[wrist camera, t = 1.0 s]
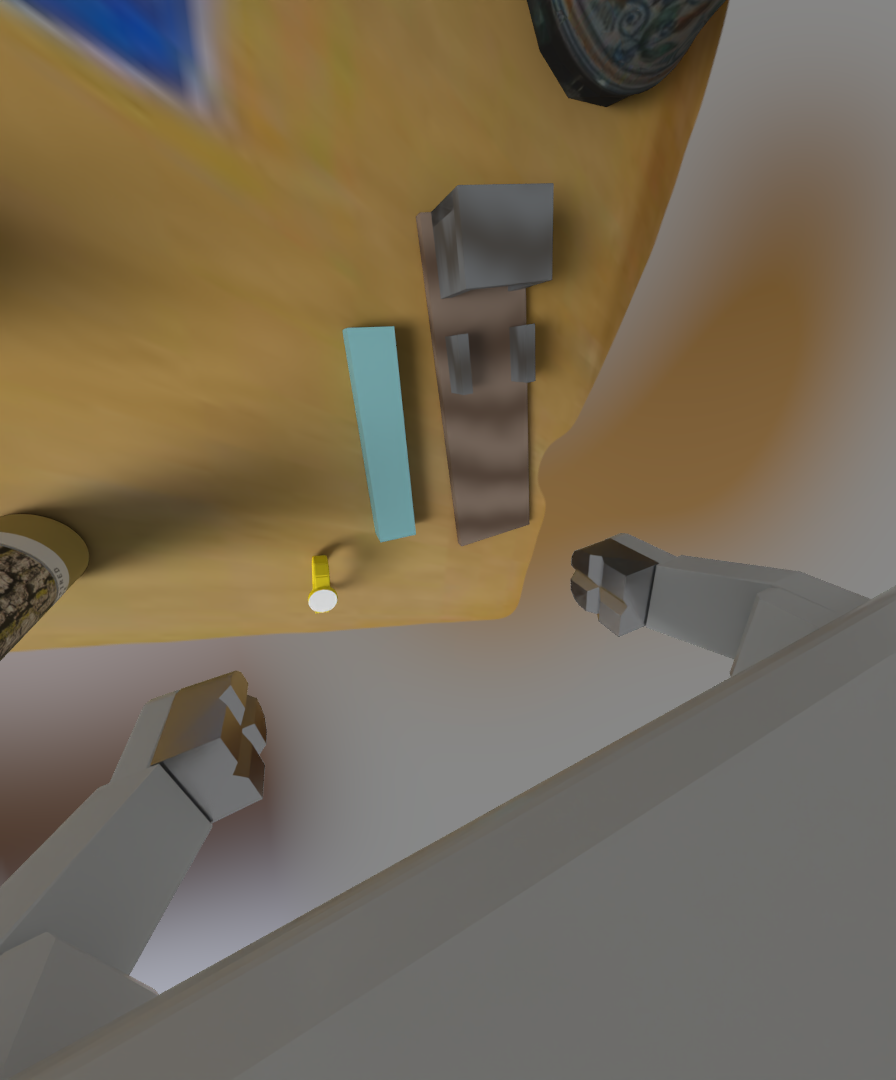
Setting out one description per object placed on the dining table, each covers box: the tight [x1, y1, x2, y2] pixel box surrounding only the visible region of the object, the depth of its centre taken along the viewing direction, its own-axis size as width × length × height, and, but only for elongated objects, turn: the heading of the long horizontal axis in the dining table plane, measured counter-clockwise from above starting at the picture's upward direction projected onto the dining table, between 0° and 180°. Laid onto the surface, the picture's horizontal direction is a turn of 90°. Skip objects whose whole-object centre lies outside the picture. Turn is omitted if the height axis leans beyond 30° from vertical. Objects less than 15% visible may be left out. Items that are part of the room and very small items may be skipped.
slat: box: [343, 326, 416, 542], centre depth 36 cm, size 20×4×3 cm, turn 3°
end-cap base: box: [416, 183, 553, 546], centre depth 37 cm, size 32×10×6 cm, turn 8°
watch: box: [308, 555, 338, 613], centre depth 38 cm, size 6×3×6 cm, turn 172°
